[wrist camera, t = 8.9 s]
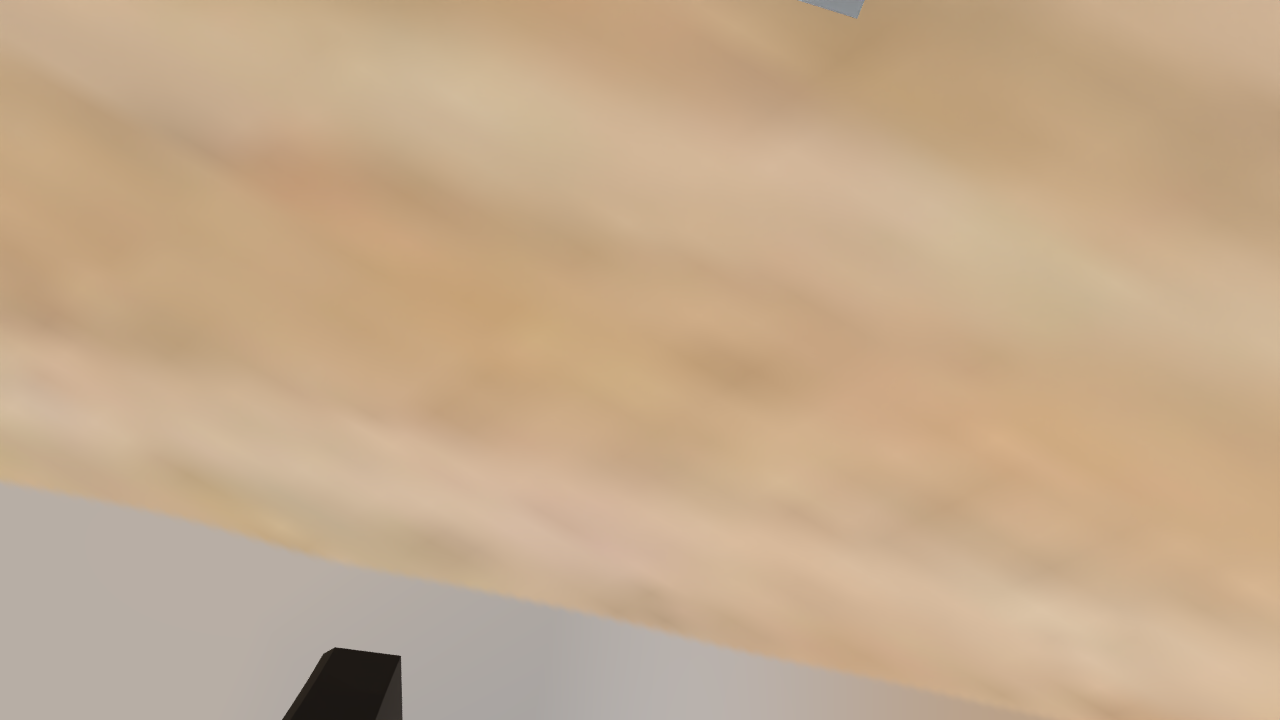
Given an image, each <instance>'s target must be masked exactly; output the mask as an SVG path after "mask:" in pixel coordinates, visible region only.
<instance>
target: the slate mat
mask: <svg viewBox="0 0 1280 720" xmlns="http://www.w3.org/2000/svg"><path fill="white" fill-rule="evenodd" d="M799 1H802V2H805V3H809V4H812V5H815V6H818V7H821V8H825V9H828V10H831V11H834V12H837V13H841V14H844V15H847V16H850V17H853V18H856V19H857V18H858V15H859V13H860V10H861V8H862V5H863V3H864V0H799Z"/></svg>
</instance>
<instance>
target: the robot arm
mask: <svg viewBox="0 0 1280 720" xmlns="http://www.w3.org/2000/svg"><path fill="white" fill-rule="evenodd" d="M401 685H402V684H401V656H397V655H390V654H382V653H374V652H366V651H358V650H351V649H343V648H336V647H335V648H333V649H331V650H330V651H328V652H326V653H324V654H323V656H322V657H321V659H320V661H319V662H318V664H317V666H316V667H315V669H314V671H313V672H312V674H311V676H310V678H309V679H308V681H307V682H306V684H305V685H304V687H303V688H302V690H301V692H300V693H299V695H298V696H297V698H296V700H295V701H294V703H293V704H292V706H291V707H290V709H289V710H288V712H287V713H286V715H285V716H284V718H283V719H282V720H402V686H401Z"/></svg>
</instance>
